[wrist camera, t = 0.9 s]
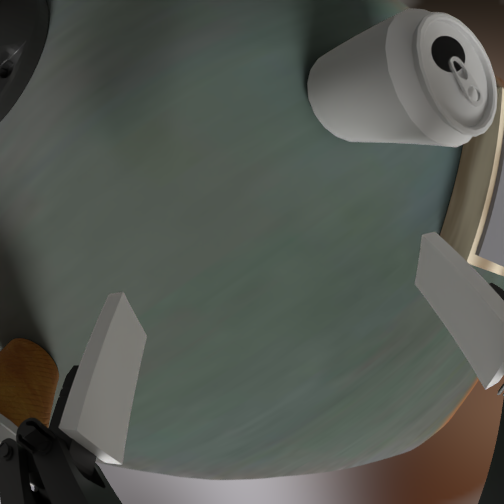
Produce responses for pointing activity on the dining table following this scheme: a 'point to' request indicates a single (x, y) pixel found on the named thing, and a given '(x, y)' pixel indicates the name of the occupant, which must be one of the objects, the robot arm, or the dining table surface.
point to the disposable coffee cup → (25, 385)
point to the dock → (480, 198)
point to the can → (406, 83)
